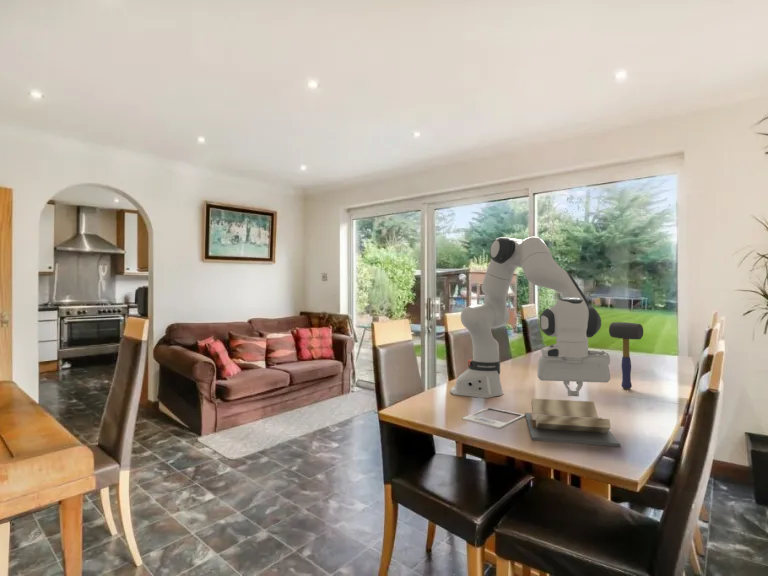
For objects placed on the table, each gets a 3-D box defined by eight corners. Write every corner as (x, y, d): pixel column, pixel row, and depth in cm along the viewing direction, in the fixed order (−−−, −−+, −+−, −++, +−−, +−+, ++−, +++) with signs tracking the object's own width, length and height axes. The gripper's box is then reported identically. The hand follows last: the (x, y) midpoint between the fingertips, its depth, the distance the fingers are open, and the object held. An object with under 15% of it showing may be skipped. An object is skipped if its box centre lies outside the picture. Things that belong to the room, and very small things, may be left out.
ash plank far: (533, 418, 143) (533, 413, 142) (531, 403, 149) (531, 398, 148) (597, 422, 138) (598, 417, 137) (592, 407, 144) (593, 401, 143)
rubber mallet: (608, 387, 191) (607, 322, 191) (616, 385, 196) (615, 321, 196) (638, 393, 181) (637, 323, 181) (645, 390, 186) (644, 322, 186)
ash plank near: (538, 423, 128) (537, 414, 129) (536, 428, 134) (535, 420, 135) (610, 427, 123) (609, 419, 124) (605, 432, 129) (604, 424, 130)
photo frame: (462, 417, 147) (488, 406, 160) (462, 420, 147) (488, 409, 160) (499, 426, 137) (525, 414, 150) (500, 430, 137) (525, 417, 150)
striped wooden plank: (532, 427, 135) (532, 419, 135) (530, 420, 142) (530, 413, 142) (607, 432, 130) (607, 424, 130) (601, 425, 137) (601, 417, 137)
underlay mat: (532, 439, 126) (532, 437, 126) (525, 414, 151) (525, 412, 152) (620, 446, 120) (620, 443, 120) (598, 419, 146) (597, 417, 146)
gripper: (606, 349, 128) (607, 394, 128) (536, 348, 133) (537, 392, 133) (612, 352, 122) (613, 400, 122) (538, 351, 127) (539, 397, 127)
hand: (573, 395), depth 128 cm, fingers closed
